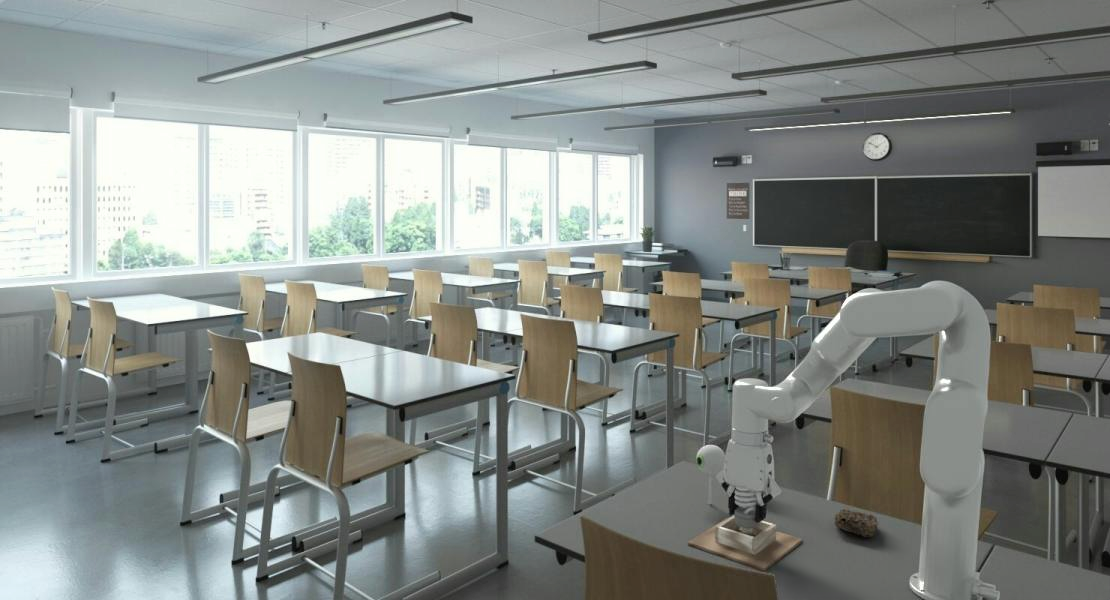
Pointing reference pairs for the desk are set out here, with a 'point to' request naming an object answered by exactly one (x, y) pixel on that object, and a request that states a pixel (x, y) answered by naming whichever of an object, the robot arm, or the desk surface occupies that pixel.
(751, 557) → the wooden box on board
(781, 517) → the desk surface
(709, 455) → the lollipop
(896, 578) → the desk surface
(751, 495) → the light bulb
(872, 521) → the concrete sample
